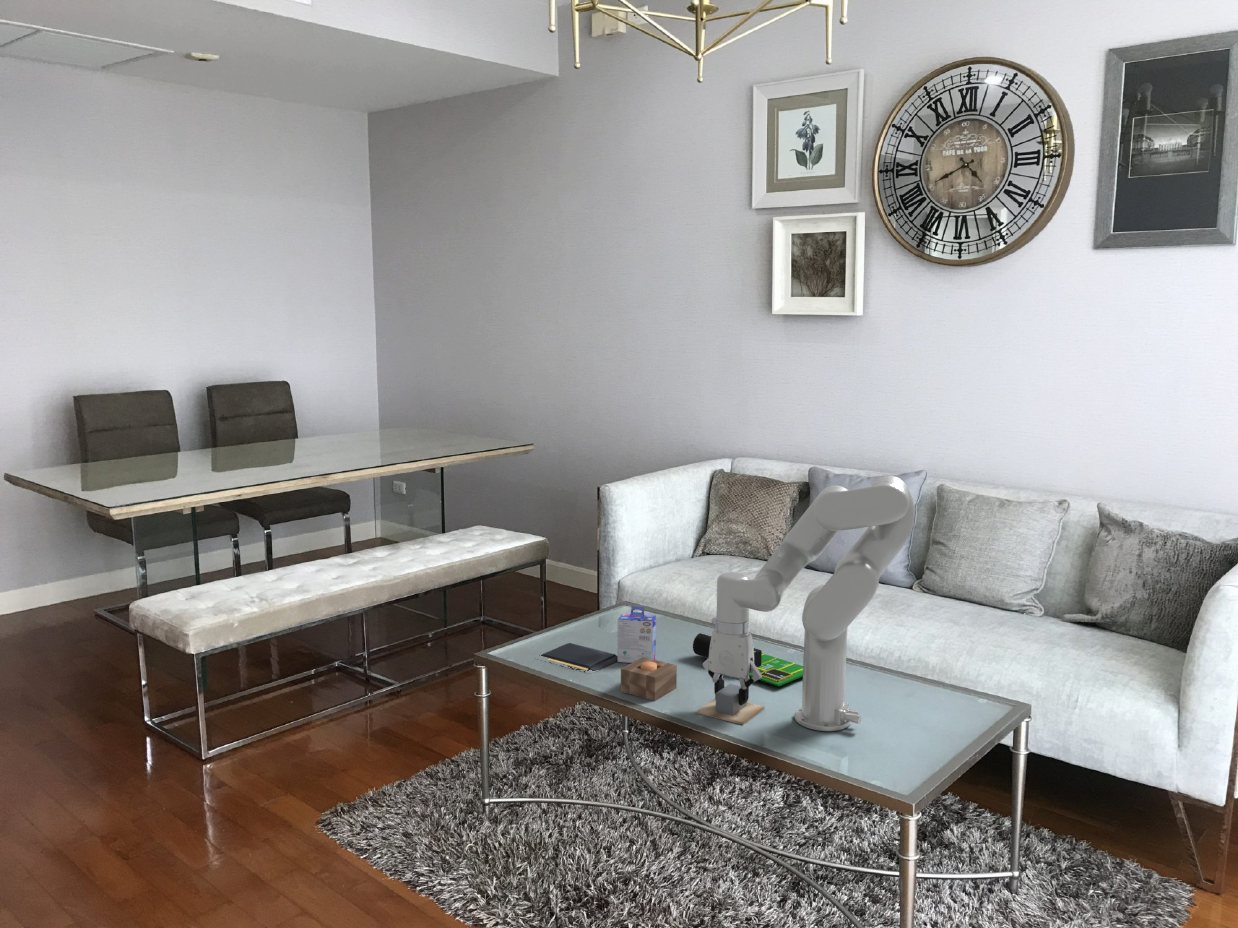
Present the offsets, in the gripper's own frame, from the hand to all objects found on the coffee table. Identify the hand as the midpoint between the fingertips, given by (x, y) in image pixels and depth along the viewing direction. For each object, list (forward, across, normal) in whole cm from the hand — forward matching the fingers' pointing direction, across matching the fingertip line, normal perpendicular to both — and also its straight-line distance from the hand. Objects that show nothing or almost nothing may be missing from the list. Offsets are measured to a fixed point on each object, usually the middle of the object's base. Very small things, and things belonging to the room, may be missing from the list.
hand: (731, 699), depth 230 cm
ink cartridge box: (+3, -37, +16) cm, 41 cm away
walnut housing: (+3, -23, 0) cm, 23 cm away
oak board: (+3, 0, 0) cm, 3 cm away
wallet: (+4, -51, +8) cm, 52 cm away
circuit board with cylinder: (+3, -9, +28) cm, 30 cm away
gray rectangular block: (+2, 0, 0) cm, 2 cm away
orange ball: (0, -23, 0) cm, 23 cm away
